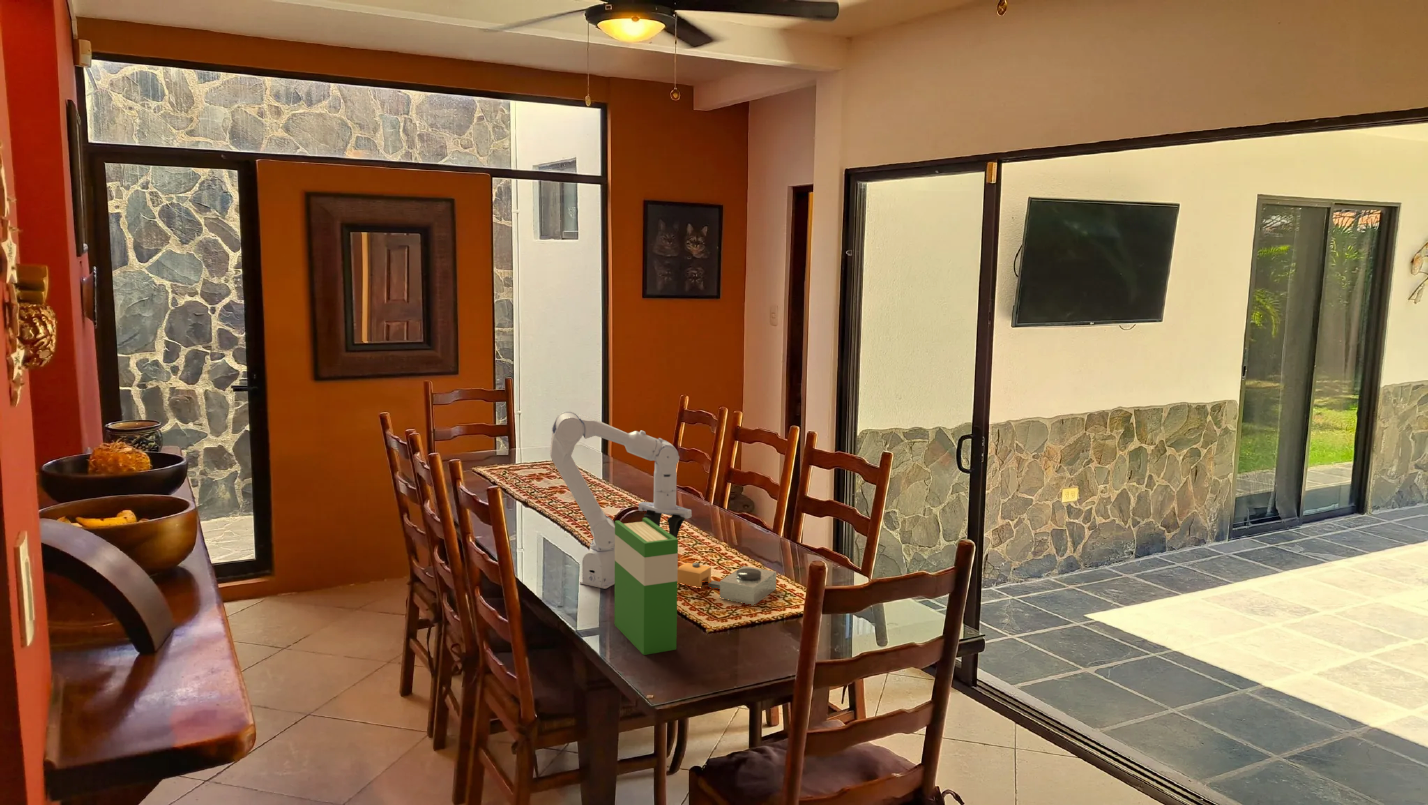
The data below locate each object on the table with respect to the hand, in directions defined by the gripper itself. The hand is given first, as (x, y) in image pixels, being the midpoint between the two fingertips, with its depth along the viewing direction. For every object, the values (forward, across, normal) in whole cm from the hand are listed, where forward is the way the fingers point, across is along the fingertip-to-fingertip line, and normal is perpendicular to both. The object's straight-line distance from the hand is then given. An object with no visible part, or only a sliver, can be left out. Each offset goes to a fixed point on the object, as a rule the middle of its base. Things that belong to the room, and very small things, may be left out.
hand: (664, 541), depth 246 cm
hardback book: (+10, -16, +35) cm, 40 cm away
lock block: (+10, -8, 0) cm, 13 cm away
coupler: (+9, -21, 0) cm, 23 cm away
